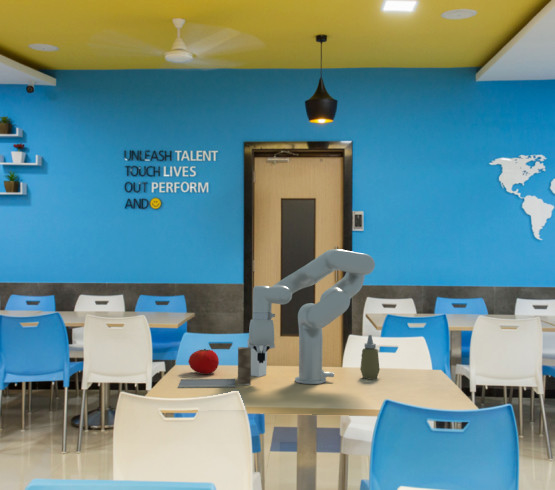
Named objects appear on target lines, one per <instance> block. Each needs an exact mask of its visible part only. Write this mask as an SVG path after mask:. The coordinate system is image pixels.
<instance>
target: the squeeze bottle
mask: <svg viewBox="0 0 555 490" xmlns="http://www.w3.org/2000/svg"><path fill="white" fill-rule="evenodd" d="M380 370H381V369H380V358H379V350H378V349H377V348H376V343H374V341H373V337H372V334H368V336H367V342H366V343H364V348H362V351H361V359H360V373H361V376H362V378H363V379H365V378H366V379H365V380H376V379H378V376H379V373H380Z"/></svg>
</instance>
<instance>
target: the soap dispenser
mask: <svg viewBox="0 0 555 490" xmlns="http://www.w3.org/2000/svg"><path fill="white" fill-rule="evenodd" d="M248 344H249V338H248V339H247V345H248ZM254 346H256V345H254ZM267 346H269V345H267ZM259 347H260V351H261V353H262V351H263V345H259ZM267 362H268V351H267V352H266V353H265V361H263V363H259V361H257V352H256V351H255V350H254V349H252V348H251V377H256V378H260V377H265V376H267V367H268V366H267V365H268V363H267Z"/></svg>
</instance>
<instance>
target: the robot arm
mask: <svg viewBox="0 0 555 490" xmlns="http://www.w3.org/2000/svg"><path fill="white" fill-rule="evenodd" d="M375 266H376V262H375V259H374V258H373V257H372V256H371V255H369V254H367V253H361V252H355V251H350V250H345V249H341V248H340V249H339V248H334V249H328V250H326V251H324V252H323V253H322V254H320V255H318V256H317V257H315V258H314V259H313V260H311V261H310V262H308V263H307V264H305V265H304V266H302V267H300V268H299V269H296V271H294V272H292V273H291V274H289V275H287V276H285V277H284V278H283V279H281V280H279V281H278V282H276V283H275V284H273V285H272V286H269V285H255V286H253V289H252V319H250V321H249V328H248V329H249V330H248V339H249V344H248V343H247V347H249V348H252V349H254V350H255V351H256V352H257V361H259V363H263V361H265V353H266V352H267V353H268V351H269V350H270V349H275V348H276V345H275V326H274V325H275V324H274V320H273V319H272V318H275V317H276V314H275V313H273V312H272V305H273V304H276V305H286V304H289V302H290V301H291V300H292V298H293V294H294V293H296V292H298V291H300V290H302V289H305V288H308V287H312V286H313V285H315V284H318V282H320V281H321V280H323V279H325V278H326V277H327V276H329V275H330V274H332V273H333V272H335V271H340V272H344V273H345V274H344V276H343V277H342V278H341V279H340V280H338V281H337V282H336V283H334V284H333V285H332V286H331V287H330V288H327V289H326V290H325V291H324V292H323V293H322V294H321V295H320V300H319V301H318V302H316V303H312V302H310V303H305V304H303V305H302V306H301V307H300V308H299V310H298V313H297V324H298V337H299V338H298V376H296V377H295V378H294V381H295V383H297V384H298V383H299V384H305V385H319V384H325V383H326V382H327V378H334V377H335V372H333V371H331V372H330V371H324V369H323V342H324V341H323V328H325V327H326V326H328V325H329V324H331V323H332V322H334V321H335V320H336V319H338V317H340V316H342V315H343V314H344V313H345V312H347V310H348V309H349V307H350V303H351V299H353V297H354V296H355V295H357V294H358V293H359V292H360V291H361V289H362V287H363V286H364V282H365V278H366V277H365V276H367V275H370V274H371V273H373V271H374V270H375V268H376V267H375ZM254 345H256V346H254ZM259 345H263V351H262V353H261V351H260V347H259ZM267 345H268V346H267Z"/></svg>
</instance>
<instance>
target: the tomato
mask: <svg viewBox="0 0 555 490" xmlns="http://www.w3.org/2000/svg"><path fill="white" fill-rule="evenodd" d="M219 359H220V358H219V356H218V354H217V353H216V352H215V351H214V350H212V349H206V348H203V349H198V350H195V351H194V352H192V353H191V354H190V356H189V359H188V365H189V367H190V369H191V370H193V371H194V372H196V373H198V374H204V375H205V374H206V375H207V374H209V375H210V374H212V373H214V372H216V371H217V369H218V366H219V363H220V362H219V361H220V360H219Z"/></svg>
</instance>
